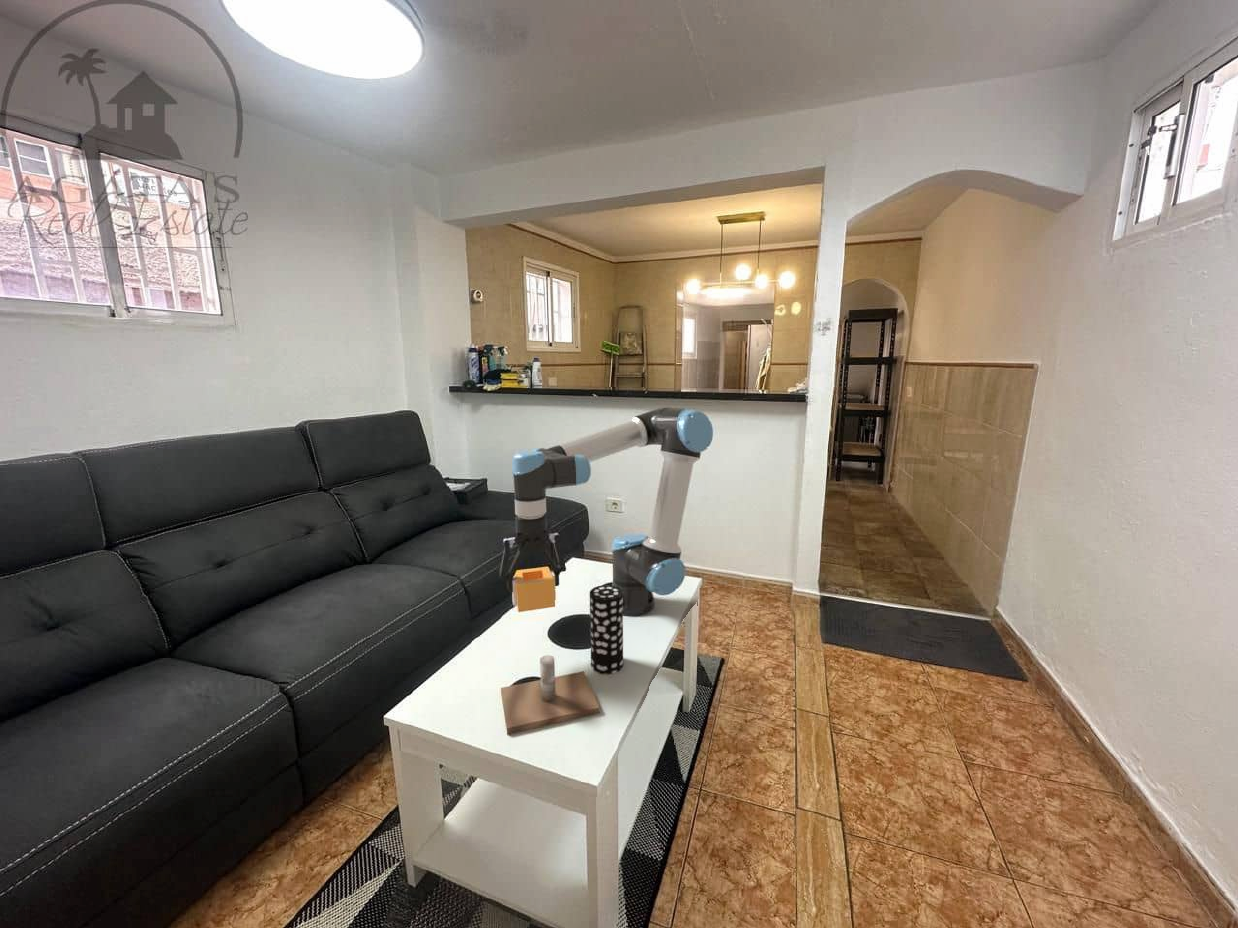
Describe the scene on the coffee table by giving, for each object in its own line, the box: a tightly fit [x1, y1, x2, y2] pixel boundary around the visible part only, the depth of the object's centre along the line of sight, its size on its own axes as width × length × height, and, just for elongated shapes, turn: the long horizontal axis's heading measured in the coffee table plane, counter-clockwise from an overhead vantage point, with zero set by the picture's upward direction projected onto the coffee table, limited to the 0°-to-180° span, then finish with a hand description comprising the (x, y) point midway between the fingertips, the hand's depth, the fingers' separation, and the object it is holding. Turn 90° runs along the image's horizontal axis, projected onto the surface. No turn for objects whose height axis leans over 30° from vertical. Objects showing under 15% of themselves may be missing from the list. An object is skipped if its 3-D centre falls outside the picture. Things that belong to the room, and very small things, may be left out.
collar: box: [514, 566, 556, 613], centre depth 123 cm, size 9×9×7 cm
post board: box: [500, 654, 600, 736], centre depth 110 cm, size 20×14×11 cm
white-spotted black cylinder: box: [589, 584, 624, 675], centre depth 124 cm, size 8×8×20 cm
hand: (534, 600), depth 123 cm, fingers closed on collar, 9 cm apart
